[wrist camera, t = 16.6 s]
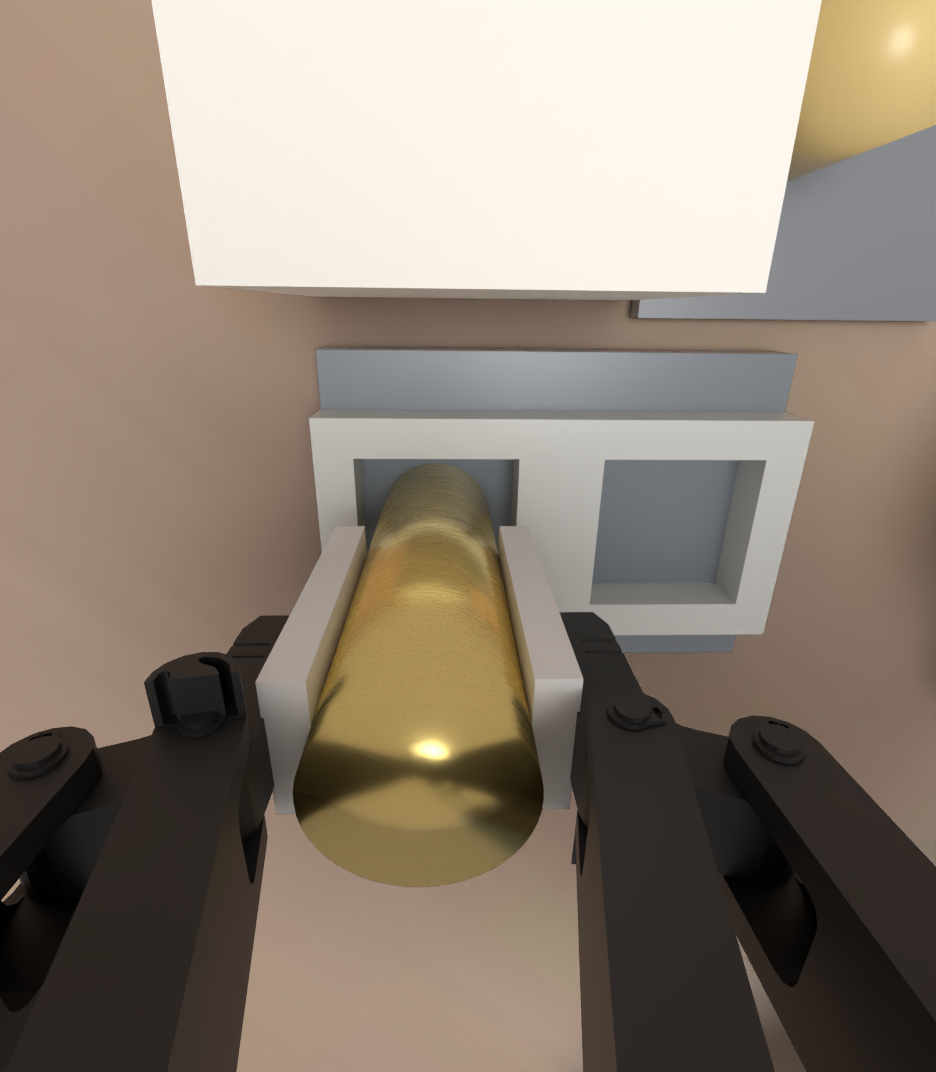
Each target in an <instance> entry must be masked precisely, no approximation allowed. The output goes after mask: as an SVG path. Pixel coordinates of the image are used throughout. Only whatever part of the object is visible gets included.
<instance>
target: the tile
mask: <svg viewBox="0 0 936 1072" xmlns="http://www.w3.org/2000/svg"><path fill="white" fill-rule="evenodd" d="M630 318H692V319H777V320H862V321H936V0H822V2H821V7H820V12H819V18H818V23H817V28H816V33H815V38H814V44H813V49H812V54H811V59H810V64H809V70H808V75H807V80H806V85H805V90H804V96H803V101H802V106H801V111H800V116H799V122H798V127H797V132H796V137H795V142H794V147H793V153H792V158H791V163H790V168H789V173H788V179H787V184H786V189H785V194H784V199H783V205H782V210H781V215H780V220H779V225H778V231H777V236H776V241H775V246H774V251H773V257H772V262H771V267H770V272H769V277H768V283H767V288H766V293H754V294H735V295H717V296H699V297H681V298H663V299H645V300H632V307H631V316H630Z"/></svg>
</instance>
